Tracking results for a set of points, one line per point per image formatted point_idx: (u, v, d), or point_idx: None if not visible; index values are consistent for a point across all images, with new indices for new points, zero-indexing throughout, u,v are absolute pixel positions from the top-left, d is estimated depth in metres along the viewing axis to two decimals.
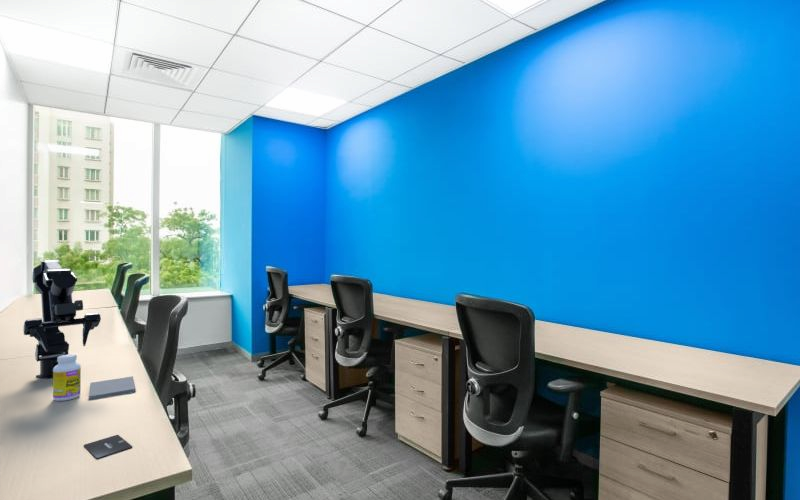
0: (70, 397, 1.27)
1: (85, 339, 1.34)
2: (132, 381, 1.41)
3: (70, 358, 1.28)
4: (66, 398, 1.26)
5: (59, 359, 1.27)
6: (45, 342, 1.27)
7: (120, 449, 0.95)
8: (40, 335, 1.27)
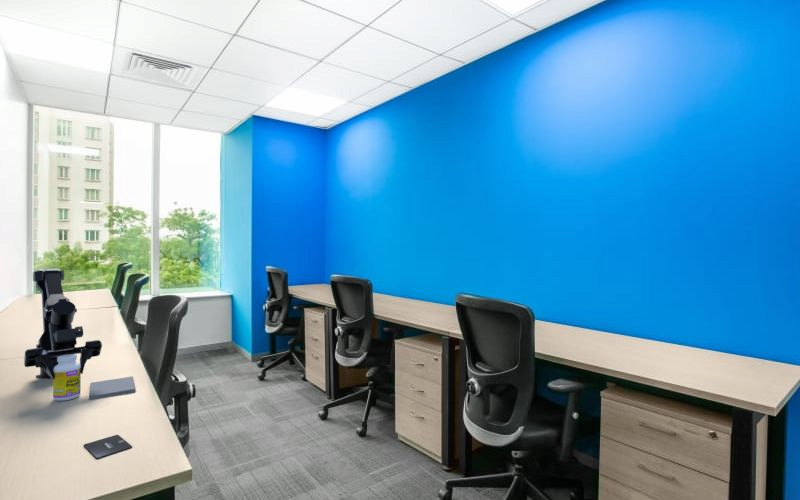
0: (70, 397, 1.27)
1: (82, 366, 1.31)
2: (132, 381, 1.41)
3: (70, 358, 1.28)
4: (66, 398, 1.26)
5: (59, 359, 1.27)
6: (51, 370, 1.26)
7: (120, 449, 0.95)
8: (46, 363, 1.26)
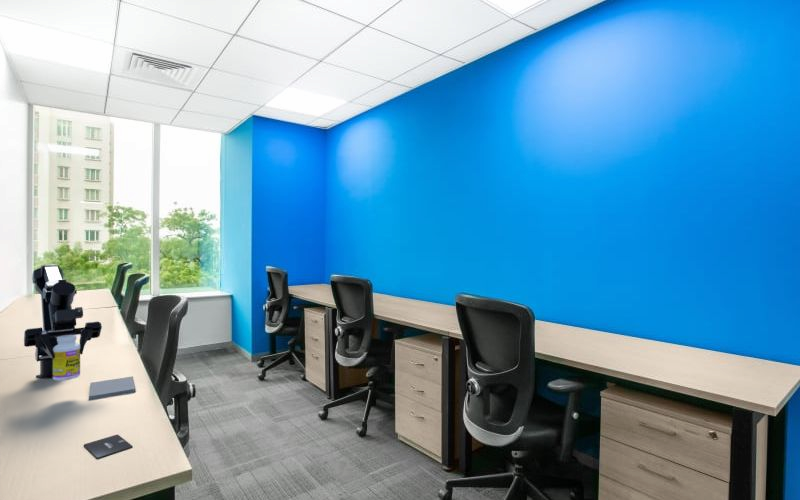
0: (70, 377, 1.27)
1: (82, 347, 1.31)
2: (132, 381, 1.41)
3: (70, 338, 1.28)
4: (66, 378, 1.26)
5: (59, 339, 1.27)
6: (50, 350, 1.26)
7: (120, 449, 0.95)
8: (46, 343, 1.26)
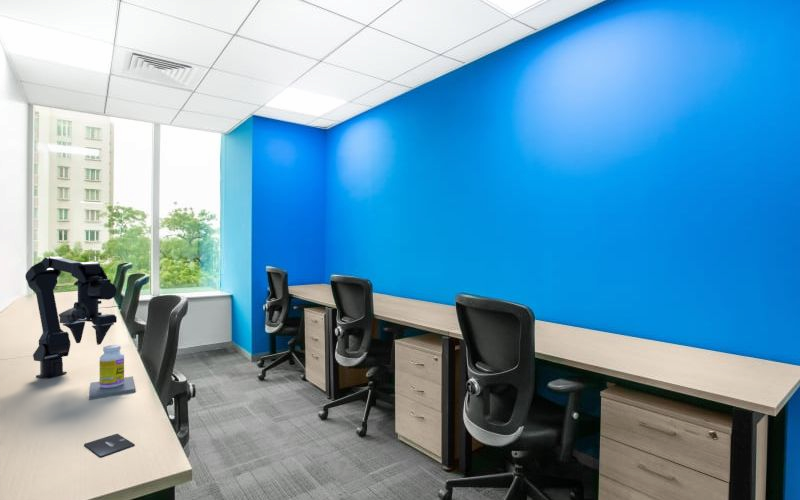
0: (119, 384, 1.36)
1: (97, 340, 1.43)
2: (132, 381, 1.41)
3: (117, 348, 1.37)
4: (116, 385, 1.35)
5: (107, 349, 1.35)
6: (74, 337, 1.45)
7: (123, 447, 0.96)
8: (71, 330, 1.45)
